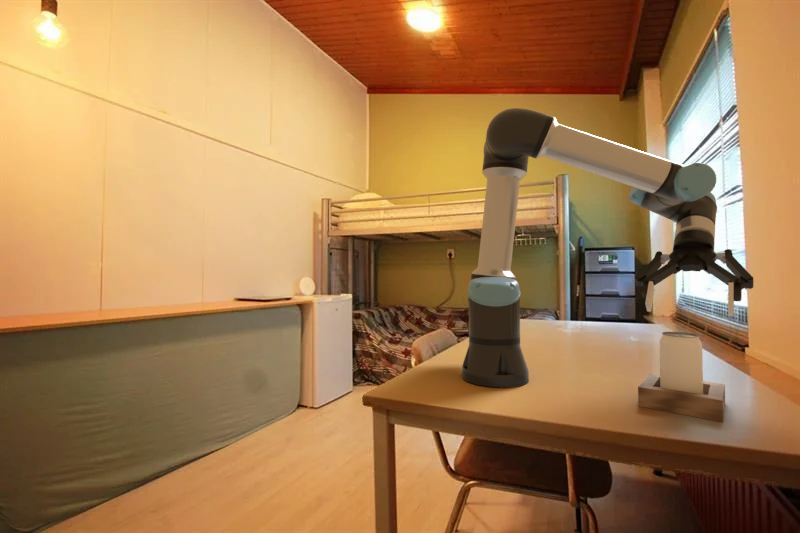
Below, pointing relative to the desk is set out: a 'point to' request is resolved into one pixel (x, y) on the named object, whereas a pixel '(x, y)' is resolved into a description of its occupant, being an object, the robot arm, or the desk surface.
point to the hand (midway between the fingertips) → (687, 309)
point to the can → (681, 362)
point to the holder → (683, 399)
